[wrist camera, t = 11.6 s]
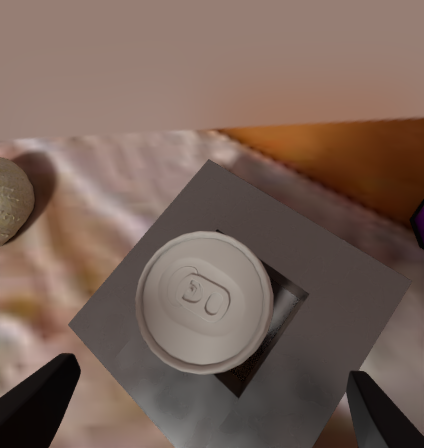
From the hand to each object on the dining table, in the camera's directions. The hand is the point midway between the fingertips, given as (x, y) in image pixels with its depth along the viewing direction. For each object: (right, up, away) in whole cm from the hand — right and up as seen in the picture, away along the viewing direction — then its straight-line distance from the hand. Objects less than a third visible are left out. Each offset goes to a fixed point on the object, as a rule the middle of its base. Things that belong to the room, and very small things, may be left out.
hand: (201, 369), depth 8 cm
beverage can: (+2, -2, +11) cm, 12 cm away
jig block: (+2, -2, +11) cm, 12 cm away
